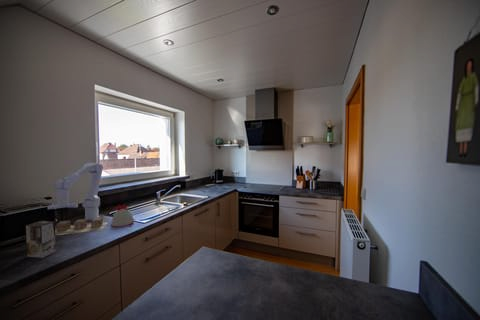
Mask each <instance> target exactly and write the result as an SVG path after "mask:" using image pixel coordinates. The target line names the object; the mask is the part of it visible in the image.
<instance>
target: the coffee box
mask: <svg viewBox="0 0 480 320" xmlns="http://www.w3.org/2000/svg"><path fill="white" fill-rule="evenodd" d="M25 230H26V231H25V233H26V234H25V235H26V236H25V237H26V239H25V240H26V257H28V258H29V257H30V258H41V259H43V258H45V257H47V256H49V255H51V254H53V253H55V252H56V249H57V248H56V247H57V246H56V243H57V242H56V241H57V240H56V235H55V230H56V221H51V220H49V221H48V220H38V221H36V222H33V223H30V224H26V225H25Z"/></svg>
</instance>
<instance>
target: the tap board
mask: <svg viewBox="0 0 480 320" xmlns="http://www.w3.org/2000/svg"><path fill="white" fill-rule="evenodd" d="M109 222H110V221H103V225H102V226H101V227H98V228H91V222H90V223H89V222H87V227H86V228H84V229H80V230H74V224H70V229H68V230H67V231H61V232H56V229H55V236H62V235H70V234H77V233H78V234H79V233H88V232H96V231H97V232H98V231H103V229H104V228H105V227H106V226H107V225H108V223H109Z"/></svg>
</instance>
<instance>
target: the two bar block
mask: <svg viewBox="0 0 480 320" xmlns="http://www.w3.org/2000/svg"><path fill="white" fill-rule="evenodd" d="M103 219H104V218H103V217H97V218H94V219H93V220H90V223H91V228H98V227H101V226H102V225H103V222H104V221H103Z"/></svg>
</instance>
